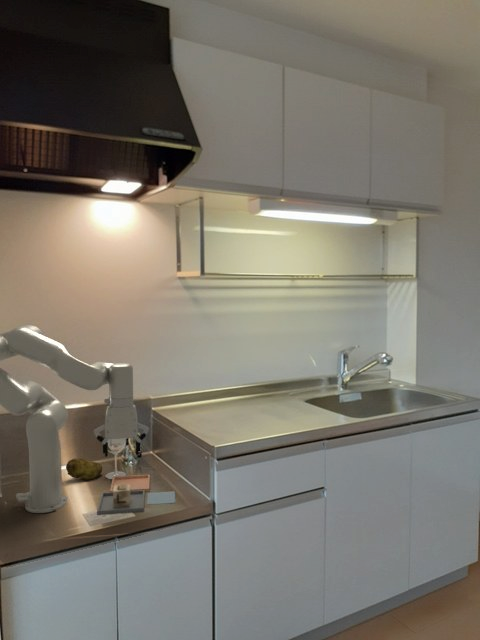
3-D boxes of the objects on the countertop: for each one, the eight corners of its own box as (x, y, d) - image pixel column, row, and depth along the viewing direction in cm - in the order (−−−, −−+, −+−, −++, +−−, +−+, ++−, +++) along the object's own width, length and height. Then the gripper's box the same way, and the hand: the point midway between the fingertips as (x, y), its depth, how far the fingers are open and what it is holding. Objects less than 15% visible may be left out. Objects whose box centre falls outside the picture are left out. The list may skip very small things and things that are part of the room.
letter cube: (113, 507, 158) (113, 491, 158) (114, 500, 163) (114, 485, 163) (129, 506, 159) (129, 490, 159) (130, 499, 164) (130, 484, 164)
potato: (104, 480, 181) (103, 458, 181) (66, 485, 177) (66, 463, 176) (101, 472, 189) (101, 451, 188) (65, 477, 184) (65, 455, 184)
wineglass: (120, 470, 191) (119, 419, 190) (130, 476, 185) (129, 423, 184) (101, 475, 186) (100, 422, 184) (111, 481, 180) (110, 427, 179)
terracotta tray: (110, 495, 168) (110, 491, 168) (113, 480, 181) (113, 476, 181) (149, 492, 170) (149, 488, 170) (149, 478, 183) (149, 474, 183)
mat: (147, 506, 160) (147, 504, 160) (147, 494, 169) (147, 493, 169) (175, 504, 161) (175, 502, 161) (174, 493, 170) (174, 491, 170)
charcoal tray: (97, 515, 153) (97, 511, 153) (102, 497, 167) (102, 492, 167) (143, 512, 155) (143, 508, 155) (144, 494, 169) (144, 490, 169)
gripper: (92, 405, 154) (92, 460, 155) (148, 403, 158) (149, 456, 159) (94, 400, 162) (95, 452, 163) (148, 398, 165) (149, 449, 166)
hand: (121, 454), depth 161 cm, fingers open, 9 cm apart
